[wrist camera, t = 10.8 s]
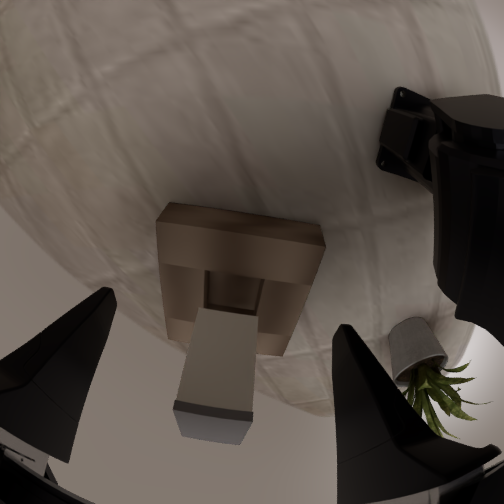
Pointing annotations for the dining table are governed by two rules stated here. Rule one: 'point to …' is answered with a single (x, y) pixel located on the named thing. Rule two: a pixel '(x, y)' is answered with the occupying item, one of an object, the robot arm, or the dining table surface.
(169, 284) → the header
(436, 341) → the house plant
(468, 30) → the dining table surface
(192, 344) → the plug
